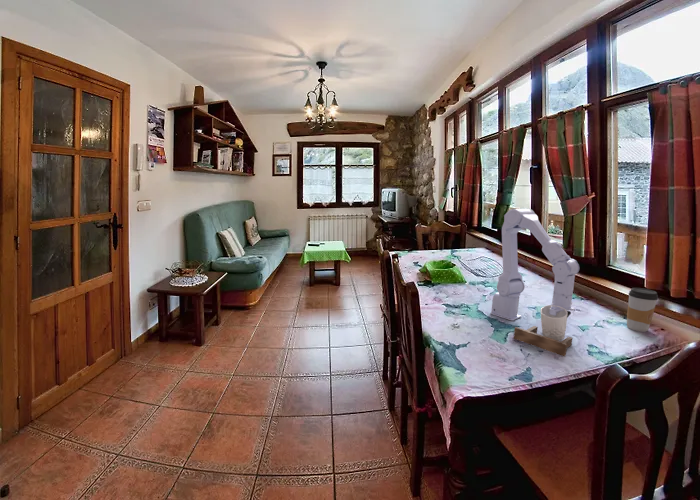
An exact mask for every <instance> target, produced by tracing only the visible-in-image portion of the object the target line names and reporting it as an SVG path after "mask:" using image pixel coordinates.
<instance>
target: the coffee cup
mask: <svg viewBox="0 0 700 500" xmlns="http://www.w3.org/2000/svg"><path fill="white" fill-rule="evenodd" d="M658 297H659V296H658V292H657V291H655V290H651V289H649V288H641V287H632V288H631V289H630V290H629V292H628V302H627V313H626V326H627V327H626V328H628V329H629V330H632V331H636V332H642V333H646V332H648V331H649V330H650V325H651V323H652V319H653V316H654V312H655V308H656V304H657V301H658V300H659V298H658Z"/></svg>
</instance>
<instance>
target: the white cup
mask: <svg viewBox="0 0 700 500" xmlns="http://www.w3.org/2000/svg"><path fill="white" fill-rule="evenodd" d="M551 306H552V307H560V306H556V305H551V304H550V305H549V304H547V305H545V306H542V307H541V308H540V322H541V332H542V333H541V335H542V336H545V337H548V338H552V339H555V340H558V341H563V340H564V339H565V338H566V337H565V335H566V330H567V323H568V322H567V321H568V318H567V314H568V312H567V311H568V310H566V309H564V308H563V307H560V308H561V309H564V311H560V312H558V313H557V315H556V316H554V315H551V314H549V311H550V309H551Z"/></svg>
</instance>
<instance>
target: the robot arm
mask: <svg viewBox="0 0 700 500" xmlns="http://www.w3.org/2000/svg"><path fill="white" fill-rule="evenodd" d="M503 217H504V218H503V219H504V222H503V224H502V226H501V248H502V253H501V255H502V273H501V274H499V276H498V277H497V278H498V281H497V284H496V290H497V292H495V293H494V294H493V297H492V303H491V312H490V313H489V314H490V315H493V316H497V317H499V318H502V319H506V320H509V321H512V322H513V321H514V320H515V321H516V320H517V319H519V318H521V317H522V315H521V314H519V304H520V297H521V293H523V292H524V290H525V282H524V280H523V276H522V274H521V273H520V272H519V264H518V263H519V261H518V260H519V259H518V233H519V232H520V231H521V230H522V229H527V230H528V231H530V232H531V234H532V235H533V236H534V238H536V240H537V241H538V242H539V243H540V244H541V246H542V248H541V251H542V253H543V254H544V256H545V257H546V258H547V260H548V262H549V263H551V265H552V267H551V270H552V273H553V274H554V282H553V293H552V302H551V304H550V305H556V306H560V307H563V308H564V309H566V310H567V312H568V314H567V319H568V318H569V316H570V315H571V314H572V312H573V311H575V310H576V309H575V307H574V306H573V301H572V299H573V293H574V286H575V277H576V275H577V274H578V273H579V271H580V264H579V263H578V261H577V260H576V259H574V258H571V256H570V255H568V254H567V253H566V251H565V250H564V248H563V245H562V244H561V243H559V242H558V241H554V240H552V238H551V237H550V236H549V235H548V233H547V231H546V230H545V228H544V226H543V225H542V224H541V222H540V220H539V216H538V215H537V214H536V213H535V211H534V210H533V209H531V208H521V209H520V208H511V209H509V210H508V211H507V212H506V213H505V214H504V215H503ZM560 307H552V306H551V309H550V311H549V314H551V315H554V316H556V315H557V313H558V312H560V311H564V309H561V308H560Z"/></svg>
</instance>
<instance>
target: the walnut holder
mask: <svg viewBox="0 0 700 500" xmlns="http://www.w3.org/2000/svg"><path fill="white" fill-rule="evenodd" d="M538 328H539V327H538V326H536V325H533V326H532V327H529V328H527V329H524V328H520V327H517V326H515V327H514V330H513V339H514V340H517V341H519V342H523V343H525V344H528V345H530V346H533V347H535V348H539V349H542V350H544V351H546V352H547V351H548V352H550V353H553V354H555V355H557V356H558V355H559V356H562V357H566V356H567V350H568V349H567V348H569V347H571V346H572V344H573V337H572V336H567V337H565V338H564V339H562V340H560V341H558V340H555V339H552V338H548V337H545V336H543V334H539V333H538Z"/></svg>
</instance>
